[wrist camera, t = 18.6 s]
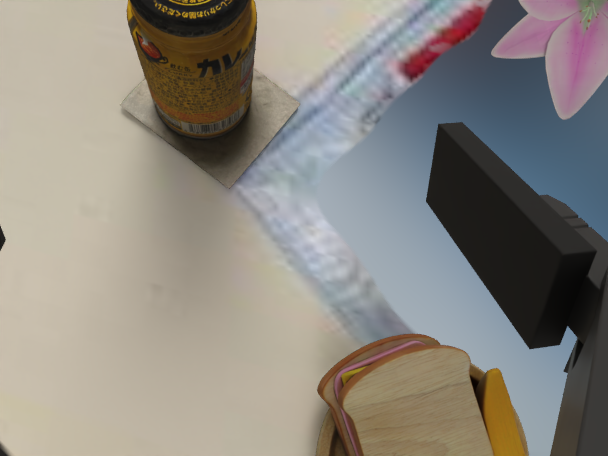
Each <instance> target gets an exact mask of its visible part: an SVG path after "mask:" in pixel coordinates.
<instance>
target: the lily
mask: <svg viewBox="0 0 608 456" xmlns="http://www.w3.org/2000/svg"><path fill="white" fill-rule="evenodd" d="M518 1H519V2H520V4H521V5H522V7H523V8H524V9H525V10H526V11H527V12H528V13H529V14H528V15H526V16H525V17H524V18H523V19H522V20H520V21H519V22H518V23H517V24H516V25H515V26H514V27H513V28H512V29H511V30H510V31H509V32H508V33H507V34H506V35H505V36H504V37H503V38H502V39H501V40H500V41H499V42H498V43H497V45H496V46H495V47H494V49H493V50H492V53H491V55H493V56H494V57H498V58H514V59H517V58H534V57H543V56H545V59H546V60H545V61H546V73H547V78H548V83H549V88H550V92H551V96H552V100H553V103H554V106H555V109H556V112H557V114H558V116H559V117H560V118H561V119H563V120H565V119H569V118H571V117H572V116H573V115H574V114H575V113H576V112H577V111H578V110H579V109H580V108H581V107H582V106H583V105H584V104H585V103H586V102H587V101H588V99H589V98H590V97H591V96H592V94H593V93H594V92H595V91H596V90H597V88H598V87H599V86H600V84H601V83H602V82H603V80H604V79H605V78H606V76H607V75H608V0H518Z"/></svg>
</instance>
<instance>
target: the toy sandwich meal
mask: <svg viewBox="0 0 608 456" xmlns="http://www.w3.org/2000/svg"><path fill="white" fill-rule="evenodd" d="M317 391H318V394H319V395H320V397H321V398H322V399H323V400H324V401H325V402H326V403H327V404H328V405H329V407H330V408H329V410H328V412H327V414H326V417H325V419H324V422H323V425H322V428H321V431H320V435H319V439H318V444H317V451H316V456H529V454H528V448H527V442H526V438H525V434H524V431H523V428H522V425H521V422H520V420H519V417H518V415H517V413H516V411H515V409H514V407H513V406H512V404H511V401H510V397H509V394H508V391H507V388H506V386H505V383H504V380H503V377H502V374H501V372H500V370H499V369H497V368H496V369H491V370H489V371H487V372H486V373H485V372H483V371H482V370H481V369H479V368H478V367H476V366H475V365H473V364H472V363H471V361H470V358H469V356H468V354H467V353H466V352H465V351H463V350H461V349H458V348H455V347H451V346H446V345H440V343H439V342H438V341H437V340H435V339H434V338H431V337H429V336H426V335H421V334H404V335H397V336H392V337H388V338H385V339H381V340H378V341H376V342H373V343H371V344H368V345H366V346H364V347H362V348H360V349H359V350H357V351H355V352H353V353H351V354H350V355H348V356H347V357H345V358H344V359H342V360H341V361H340V362H338V363H337V364H336V365H335V366H334V367H333V368H331V369H330V370H329V371H328V372H327V374H326V375H325V376H324V377H323V378H322V380H321V381H320V383H319V385H318V389H317Z"/></svg>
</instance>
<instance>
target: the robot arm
mask: <svg viewBox="0 0 608 456" xmlns="http://www.w3.org/2000/svg"><path fill="white" fill-rule="evenodd" d="M426 202H427V203H428V205H429V206H430V208H431V209H432V210H433V212H434V213H435V214H436V216H437V218H438V219H439V220H440V222H441V223H442V225H443V226H444V228H445V229H446V230H447V232H448V233H449V235H450V236H451V238H452V239H453V240H454V242H455V243H456V245H457V246H458V248H459V249H460V250H461V252H462V253H463V255H464V256H465V257H466V259H467V260H468V262H469V263H470V265H471V266H472V267H473V269H474V270H475V272H476V273H477V275H478V276H479V278H480V279H481V280H482V281H483V283H484V285H485V286H486V288H487V289H488V290H489V292H490V293H491V295H492V296H493V297H494V299H495V300H496V302H497V303H498V304H499V306H500V307H501V309H502V310H503V312H504V313H505V315H506V316H507V317H508V319H509V320H510V322H511V323H512V325H513V326H514V327H515V329H516V330H517V332H518V333H519V334H520V336H521V337H522V339H523V340H524V342H525V343H526V345H527V346H528V347H529V349H534V348H541V347H548V346H555V345H560V343H561V340H562V338H563V336H564V333H565V331H566V328H567V326H569V328H570V329H571V330H572V331H573V333H574V334H575V335H576V336H577V341H576V343H575V345H574V348H573V350H572V353H571V355H570V358H569V360H568V362H567V364H566V367H565V369H564V372H566V373H568V375H567V379H566V384H565V389H564V393H563V398H562V403H561V407H560V412H559V417H558V422H557V426H556V431H555V436H554V441H553V445H552V449H551V454H550V456H608V242H607V241H606V240H605V239H603V238H602V237H601V236H600V235H599V234H598V233H597V232H596V231H595V230H594V229H592V228H591V227H588V224H587V223H585V221H583V219H581V218H578V215H577V214H576V213H575V212H574V211H573V210H571V209H570V208H569V207H568V206H567V205H566V204H564V203H562V202H560V201H558V200H557V199H555V198H553V197H551V196H549V195H540V196H539V195H538V194H537V193H536V192H535V191H534V190H533V189H532V188H531V187H530V186H529V185H528V184H526V183H525V182H524V181H523V180H522V179H521V178H520V177H519V176H518V175H517V174H516V173H515V172H514V171H513V170H512V169H511V168H510V167H509V166H507V165H506V164H505V163H504V162H503V161H502V160H501V159H500V158H499V157H498V156H497V155H496V154H495V153H494V152H493V151H492V150H491V149H489V147H488V146H486V145H485V144H484V143H483V142H482V141H481V140H480V139H479V138H478V137H477V136H476V135H475V134H474V133H473V132H472V131H471V130H470V129H469V128H468V127H466V126H465V125H464V124H463V123H462V122H460V123H446V124H438V130H437V136H436V142H435V148H434V155H433V161H432V168H431V173H430V180H429V186H428V192H427V198H426ZM5 240H6V239H5V236H4V234H3V231H2V229H1V226H0V251H1V249H2V247H3V244H4V242H5Z"/></svg>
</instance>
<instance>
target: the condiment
mask: <svg viewBox="0 0 608 456" xmlns="http://www.w3.org/2000/svg"><path fill="white" fill-rule="evenodd" d="M127 20H128V25H129V28H130V32H131V35H132V38H133V41H134V45H135V47H136V50H137V54H138V57H139V60H140V64H141V66H142V69H143V72H144V76H145V79H144V80H143V81H142V82H141V83H140V84H139V85H138V86H137V87H136V88H135V89H134V90H133V91H132V92H131V93H130V94H129V95H128V96H127V97H126V98H125V100H124V101H123V102H122V103H121V104H120V106H121V107H123V108H124V109H125V110H127V111H128V112H129V113H130V114H132V115H133V116H134V117H136V118H137V119H138V120H139V121H141V122H142V123H143V124H145V125H146V126H147V127H149V128H150V129H151V130H152V131H154V132H155V133H156V134H157V135H159V136H160V137H161V138H163V139H164V140H165V141H167V142H168V143H169V144H171V145H172V146H173V147H175V148H176V149H177V150H179V151H180V152H182V153H183V154H184V155H186V156H187V157H188V158H189V159H190V160H192V161H193V162H194V163H196V164H197V165H198V166H200V167H201V168H202V169H203V170H205V171H206V172H207V173H209V174H210V175H212V176H213V177H214V178H216V179H217V180H218V181H220V182H221V183H222V184H223V185H225V186H226V187H227V188H229V189H230V188H231V186H232V185H233V184H234V183H235V182H236V180H237V179H238V178H239V177H240V176H241V175H242V174H243V172H244V171H245V170H246V169H247V168H248V167H249V165H250V164H251V163H252V162H253V161H254V159H255V158H256V157H257V156H258V155H259V153H260V152H261V151H262V150H263V149H264V148H265V146H266V145H267V144H268V143H269V142H270V141H271V140H272V138H273V137H274V136H275V134H276V133H277V132H278V130H279V129H280V128H281V127H282V126H283V125H284V124H285V122H286V121H287V120H288V119H289V117H290V116H291V115H292V114H293V113H294V111H295V110H296V109H297V108H298V107H299V105H300V103H299V102H297V101H296V100H295V99H293V98H292V97H291V96H290V95H288V94H287V93H285V92H284V91H283V90H281V89H280V88H279V87H278V86H277V85H276V84H274V83H272V82H271V81H270V80H268V79H267V78H266V77H265V76H264V75H262V74H261V73H259V72H258V71H257V70H255V69H254V68H253V65H254V53H255V44H256V43H255V42H256V31H257V12H256V5H255V2H254V0H128V6H127Z"/></svg>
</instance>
